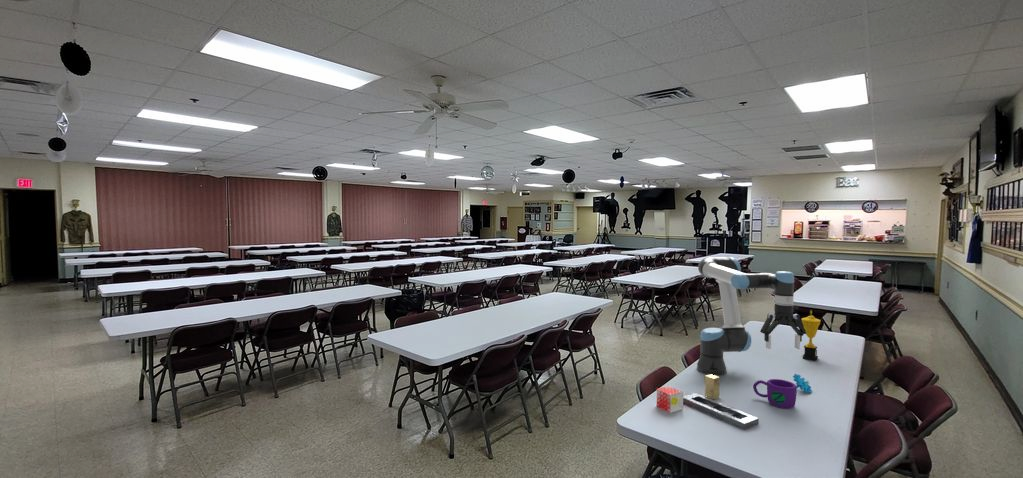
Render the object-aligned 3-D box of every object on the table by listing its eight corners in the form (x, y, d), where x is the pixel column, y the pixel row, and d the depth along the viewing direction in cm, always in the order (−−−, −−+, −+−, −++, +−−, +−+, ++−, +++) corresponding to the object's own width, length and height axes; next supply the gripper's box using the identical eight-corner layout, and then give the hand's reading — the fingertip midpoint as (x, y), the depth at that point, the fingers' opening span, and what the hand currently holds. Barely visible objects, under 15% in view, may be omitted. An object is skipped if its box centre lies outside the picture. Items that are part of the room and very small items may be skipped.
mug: (798, 404, 192) (799, 383, 192) (793, 412, 184) (793, 390, 184) (756, 394, 204) (756, 373, 204) (749, 400, 196) (749, 379, 196)
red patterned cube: (670, 412, 184) (670, 395, 184) (656, 406, 191) (656, 388, 191) (683, 409, 188) (683, 391, 188) (669, 402, 195) (669, 385, 195)
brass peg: (704, 396, 202) (705, 375, 201) (711, 394, 204) (711, 374, 204) (713, 399, 198) (713, 378, 197) (719, 397, 200) (719, 377, 200)
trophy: (818, 364, 248) (819, 313, 247) (798, 360, 255) (799, 311, 254) (821, 356, 263) (822, 308, 262) (802, 353, 269) (803, 306, 268)
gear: (806, 392, 202) (791, 373, 208) (795, 398, 205) (781, 379, 211) (817, 391, 207) (803, 372, 213) (807, 397, 211) (793, 378, 217)
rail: (681, 402, 195) (681, 397, 195) (695, 398, 199) (695, 393, 199) (744, 429, 169) (744, 423, 168) (758, 424, 173) (758, 418, 173)
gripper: (761, 305, 196) (760, 350, 197) (816, 305, 196) (814, 350, 196) (752, 302, 204) (751, 345, 205) (805, 302, 203) (804, 346, 204)
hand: (782, 348), depth 201 cm, fingers open, 13 cm apart
